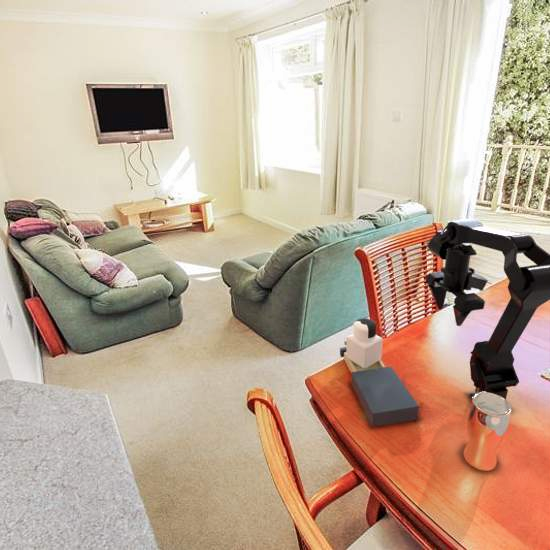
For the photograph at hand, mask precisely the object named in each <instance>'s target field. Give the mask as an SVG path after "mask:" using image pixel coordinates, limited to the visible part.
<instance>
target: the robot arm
mask: <svg viewBox="0 0 550 550" xmlns="http://www.w3.org/2000/svg"><path fill="white" fill-rule="evenodd" d="M466 244H467V245H466ZM472 244H473V245H476V246H480V247H483V248H487V249H490V250H494V251H498V252H501V253H502V255H503V256H504V257H503V258H504V262H503V272H504V273H505V276H506V277H507V280H508V285H507V290H508V293H509V296H510V299H509V300H508V303H507V304H506V307H505V309H504V311H503V312H502V314H501V316H500V318H499V320H498V322H497V324H496V326H495V328H494V329H493V332H492V333H491V335H490V337H489V339H488V340H483V341H477V342H476V343H475V344H474V346H473V349H472V351H470V358H469V372H470V379H471V381H472V382H473V386H474V387H475V389H474V392H471V393H469V397H470V399H471V401H472V400H473V396H474V395H475V394H476V393H479V392H491V393H495V394H497V395H499V396H501V397H503V398H504V399H506V400H507V396H508V392H509V389H508V388H510V387H513V388H514V387H517V385H519V383H520V379H519V377H518V375H517V371H516V369H515V366H514V362H515V358H514V354H513V352H512V351H513V350H514V348H515V346H516V345H517V343H518V341H519V340H520V338H521V336H522V335H523V333H524V332H525V329H526V328H527V326H528V324H529V323H530V321H531V319H532V318H533V316H534V315H535V313H536V311H537V309H539V307H541V306H542V305H544V304H546V303H547V302H549V301H550V253H549V252H548V251H546V250H544V249H543V248H541V247H540V246H539V245H538V244H537V243H536V241H535V239H534V238H533V237H532V235H530V234H527V233H517V232H512V231H508V230H502V229H497V228H492V227H488V226H484V225H483V222H481V221H479V220H476V219H475V218H468V219H458V220H449V221H448V222H447V224H446V226H445V227H444V228H443V230H437V231H435V235H434V236H432V237H431V238H430V239H429V241H428V243H427V249H428V251H429V252H431V253H432V254H434V255H435V256H436V257H438V258H439V259H441V260H443V261H445V262H444V266H443V267H442V266H441V267H440V271H435V272H429V273H428V274H427V275H426V276H425V283H426V284H427V287H428V288H429V290H430V293H431V295H432V297H433V299H434V302H435V305H436V308H437V309H438V310H439V311H440V310H443V308H444V305H445V301H446V296H447V292H448V293H451V294H452V295H453V296H455V298H454V299H453V303H454V304H453V306H452V309H453V314H454V319H455V324H456V326H457V327H460V326H462V325H463V323H464V322H465V320H466V319H467V318H468V316H469V315H470V313H472V312H473V311H479V310H480V311H481V310H484V309H485V304H486V301H485V300H484V298H483V297H480V296H479V295H478V294H477V293H475V292H470V293H466V292H465V291H471V290H472V289H475V290H479V291H481V292H482V291H484V289H485V287H486V285H487V283H488V281H489V280H488V279H487V278H485V277H483V276H482V275H480V274H478V273H476V272H475V269H474V268H472V267H471V266H470V262H471V257H472V256H476V255H477V251H476V250H475V248H473V246H472ZM519 254H523V255H524V256H525V257H526V258H527V259H528V260H530V261H531V262H533V263H534V264H533V265H526V266H519V263H518V261H517V259H518V258H517V257H518V255H519Z"/></svg>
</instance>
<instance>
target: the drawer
mask: <svg viewBox="0 0 550 550" xmlns="http://www.w3.org/2000/svg"><path fill="white" fill-rule="evenodd" d="M343 344H344V347H339V357H340V358H343V360H344V362H345V364H346V366H347V368H348V370H349V372H350V373H351V375H352V372H356V371H363V370H370V369H377V368H383V367H386V365H385V364H384V362H383V361H382V359H381V360H379V361H377V362H376V363H374V364H372V365H371V366H369V367H367V368H366V369H364V368H362V367H361V366H359V365H358V364H356V363H354V362H353V361H351V360H350V359H348V358H347V357H346V352H347V340H344V341H343Z"/></svg>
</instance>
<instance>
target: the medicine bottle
mask: <svg viewBox="0 0 550 550" xmlns="http://www.w3.org/2000/svg"><path fill="white" fill-rule="evenodd" d="M377 326H378V325H377V323H376V322H375V321H374V320H373V319H370V318H365V317H364V318H358V319H356V320H355V321H354V323H353V333H352V334H349V335H348V336H346V341H347V346H346V347H347V352H346V357H347V358H348V359H350V360H351V361H353V362H354V363H356V364H358V365H359V366H361V367H362V368H364V369H366V368H367V367H369V366H371V365H372V364H374V363H376V362H377V361H379V360H381V361H382V359H383V343H384V339H383V337H381V336H379V335H377Z"/></svg>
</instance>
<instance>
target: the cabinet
mask: <svg viewBox="0 0 550 550" xmlns="http://www.w3.org/2000/svg"><path fill="white" fill-rule="evenodd" d="M350 376H351V380H350V381H351V383H350V385H351V387H352V389H353V391H354V393H355V395H356V397H357V399H358V401H359V404H360V406H361V407H362V409H363V411H364V413H365V415H366V417H367V420H368V421H369V424H370V426H371V427H372V428H374V427H381V426H382V427H383V426H387V425H393V424H400V423H406V422H411V421H417V420H418V417H419V408H420V406H419V404H418V403H417V401H416V400H415V398H414V397H413V395H412V394H411V393H410V391H409V389H408V388H407V387H406V385H405V383H403V380H401V378H400V376H399V375H398V373H397V372H396V371H395V370H394V368H393V366H385V367H383V368H377V369H370V370H363V371H356V372H352V374H351V375H350Z"/></svg>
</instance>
